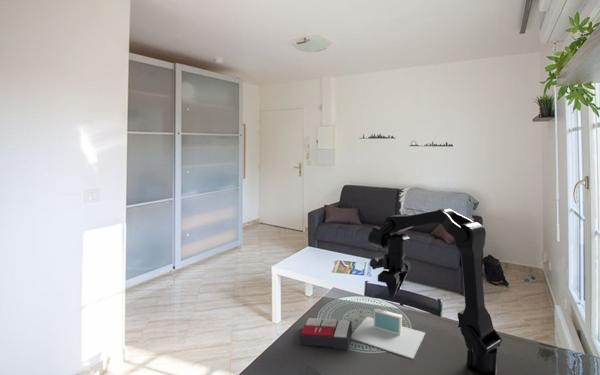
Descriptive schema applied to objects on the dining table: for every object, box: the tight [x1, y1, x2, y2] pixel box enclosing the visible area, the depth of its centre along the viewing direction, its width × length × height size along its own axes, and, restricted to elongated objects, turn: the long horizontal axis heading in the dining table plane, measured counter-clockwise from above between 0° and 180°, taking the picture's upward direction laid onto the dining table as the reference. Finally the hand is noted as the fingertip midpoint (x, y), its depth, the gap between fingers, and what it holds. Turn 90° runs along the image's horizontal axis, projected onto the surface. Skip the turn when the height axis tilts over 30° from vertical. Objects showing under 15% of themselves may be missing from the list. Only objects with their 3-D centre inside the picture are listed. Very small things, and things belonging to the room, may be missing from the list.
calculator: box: [299, 317, 353, 351], centre depth 103 cm, size 11×4×15 cm
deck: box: [373, 308, 403, 335], centre depth 107 cm, size 9×2×6 cm, turn 57°
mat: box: [350, 316, 426, 360], centre depth 104 cm, size 20×16×1 cm
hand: (394, 294), depth 112 cm, fingers open, 5 cm apart
